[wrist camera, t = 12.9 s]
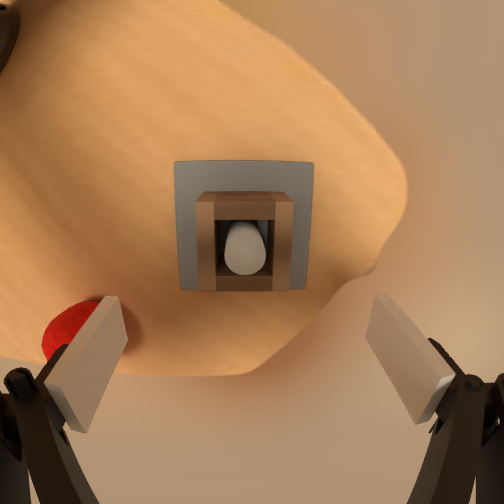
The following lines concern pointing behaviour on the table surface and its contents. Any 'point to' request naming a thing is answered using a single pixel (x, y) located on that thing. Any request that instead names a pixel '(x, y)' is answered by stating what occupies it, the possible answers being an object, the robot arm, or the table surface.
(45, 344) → the apple
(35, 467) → the robot arm
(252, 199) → the frame
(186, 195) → the stand
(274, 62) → the table surface
